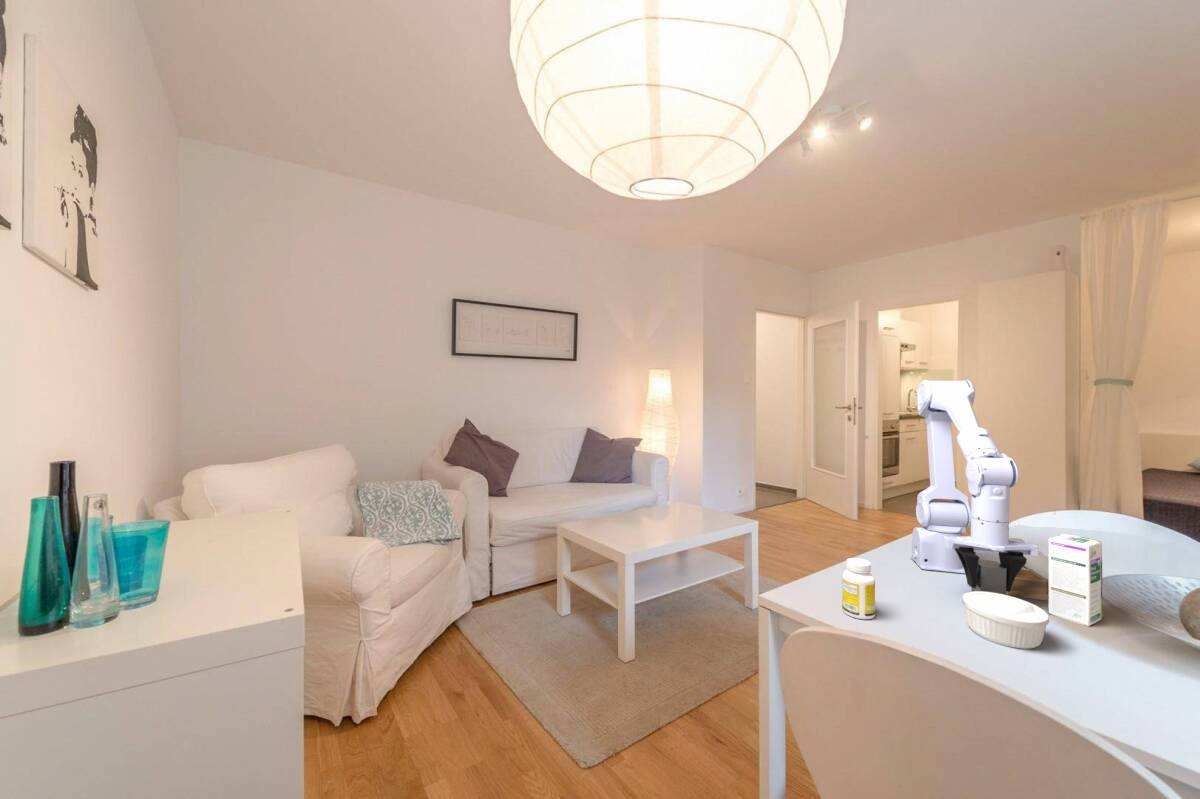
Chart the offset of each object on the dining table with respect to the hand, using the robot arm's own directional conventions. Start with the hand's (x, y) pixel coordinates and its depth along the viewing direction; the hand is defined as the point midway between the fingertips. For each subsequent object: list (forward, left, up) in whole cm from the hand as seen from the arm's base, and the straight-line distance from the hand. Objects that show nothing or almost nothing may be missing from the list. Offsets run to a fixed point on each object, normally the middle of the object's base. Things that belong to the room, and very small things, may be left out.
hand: (988, 587), depth 92 cm
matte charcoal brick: (0, 0, -3) cm, 3 cm away
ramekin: (-3, -13, -3) cm, 14 cm away
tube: (+18, +20, -4) cm, 28 cm away
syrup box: (+13, -1, -3) cm, 13 cm away
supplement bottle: (-25, -12, -3) cm, 28 cm away
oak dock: (+9, +9, -3) cm, 13 cm away
